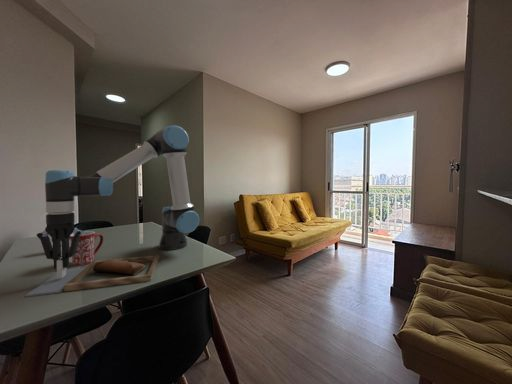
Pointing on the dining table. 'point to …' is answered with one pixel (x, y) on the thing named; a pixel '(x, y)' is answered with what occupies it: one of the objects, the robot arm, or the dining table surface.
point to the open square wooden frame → (77, 285)
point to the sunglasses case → (119, 266)
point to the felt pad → (55, 283)
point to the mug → (85, 248)
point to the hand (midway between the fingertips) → (61, 276)
